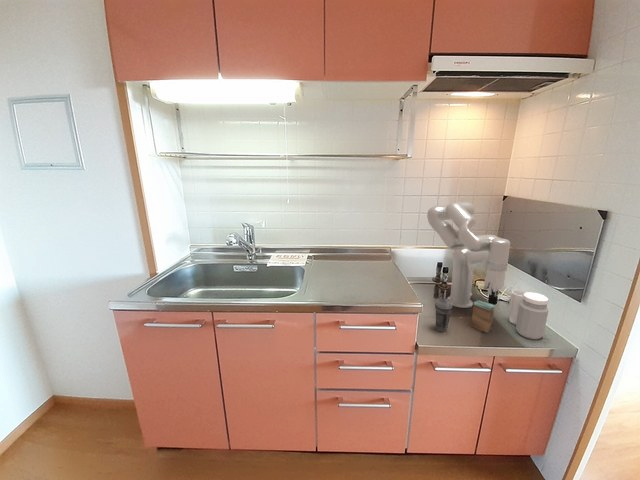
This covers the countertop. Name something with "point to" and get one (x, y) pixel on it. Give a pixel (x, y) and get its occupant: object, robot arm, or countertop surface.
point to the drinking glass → (515, 305)
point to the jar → (532, 315)
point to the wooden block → (482, 316)
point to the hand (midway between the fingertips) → (492, 303)
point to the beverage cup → (443, 313)
